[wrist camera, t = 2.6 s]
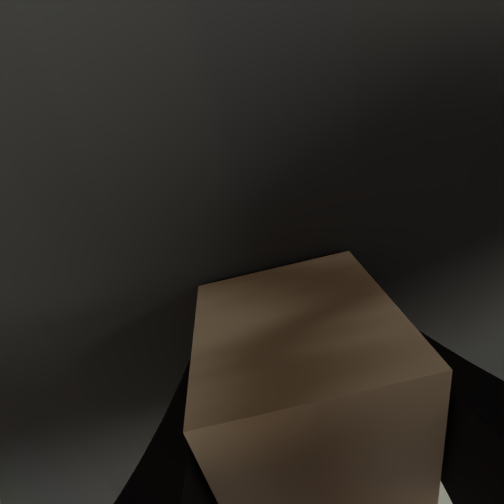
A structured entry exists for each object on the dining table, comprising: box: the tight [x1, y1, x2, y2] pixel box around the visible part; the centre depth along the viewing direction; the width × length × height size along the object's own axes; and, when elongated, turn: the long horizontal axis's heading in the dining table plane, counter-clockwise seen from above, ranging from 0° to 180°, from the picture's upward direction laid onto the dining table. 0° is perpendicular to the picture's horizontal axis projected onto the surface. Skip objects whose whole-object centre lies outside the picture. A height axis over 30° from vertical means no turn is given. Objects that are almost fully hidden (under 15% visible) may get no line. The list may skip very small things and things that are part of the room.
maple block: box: [183, 251, 452, 504], centre depth 9 cm, size 5×5×5 cm
